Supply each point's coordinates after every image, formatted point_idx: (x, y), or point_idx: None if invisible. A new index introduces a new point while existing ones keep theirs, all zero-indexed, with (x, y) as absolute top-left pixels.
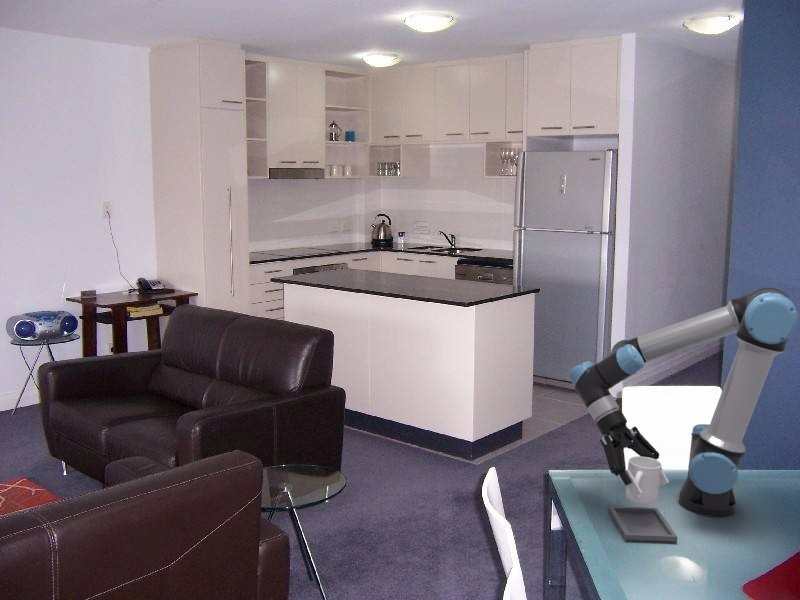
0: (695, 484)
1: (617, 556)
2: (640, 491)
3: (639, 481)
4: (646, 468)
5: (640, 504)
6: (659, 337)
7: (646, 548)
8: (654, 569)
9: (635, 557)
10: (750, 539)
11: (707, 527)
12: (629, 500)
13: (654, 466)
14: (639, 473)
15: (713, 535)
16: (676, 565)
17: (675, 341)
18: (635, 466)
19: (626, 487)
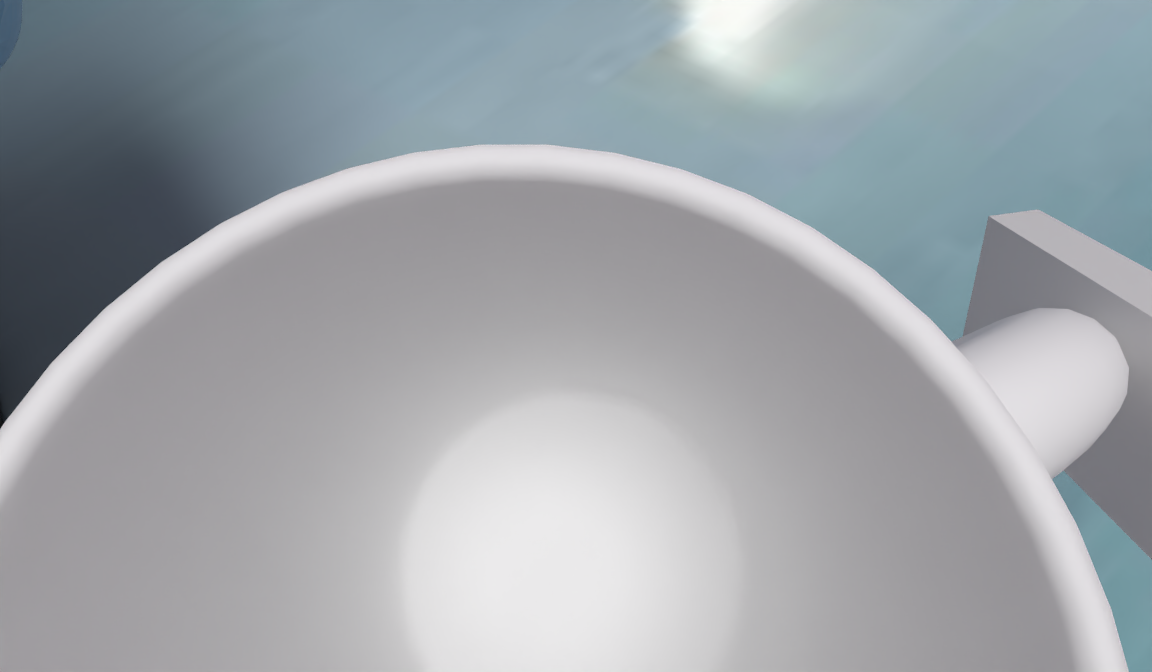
0: (6, 22)
1: (1122, 246)
2: (1040, 221)
3: (1027, 312)
4: (886, 281)
5: (702, 454)
6: None
7: (833, 234)
8: (996, 26)
9: (1005, 181)
10: (102, 21)
11: (167, 252)
12: (744, 600)
13: (120, 640)
14: (1033, 387)
15: (248, 156)
16: (823, 3)
17: None
18: (1097, 647)
19: None
